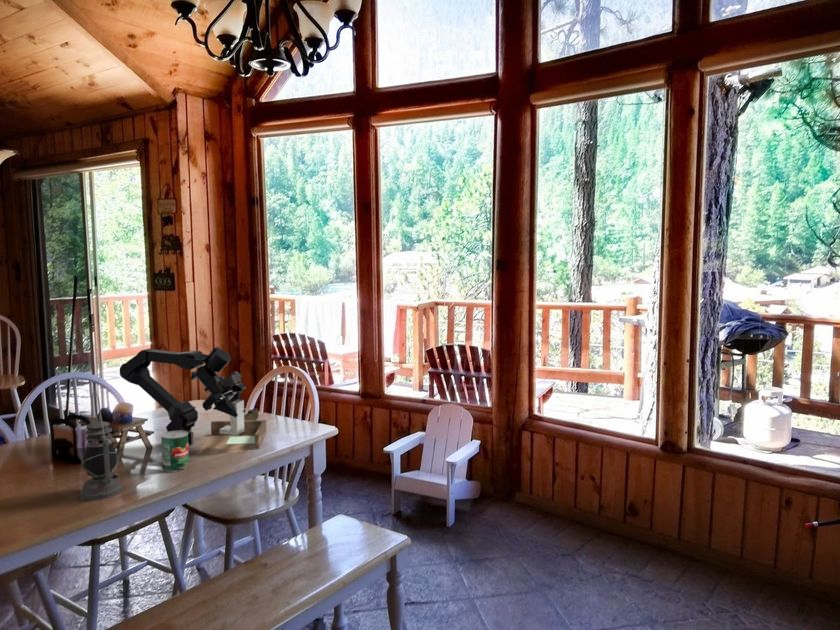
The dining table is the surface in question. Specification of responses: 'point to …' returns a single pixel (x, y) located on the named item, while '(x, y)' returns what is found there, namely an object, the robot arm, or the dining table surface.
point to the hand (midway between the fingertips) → (240, 414)
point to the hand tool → (251, 414)
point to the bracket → (235, 419)
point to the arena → (219, 441)
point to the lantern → (100, 461)
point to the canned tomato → (174, 450)
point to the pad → (241, 440)
